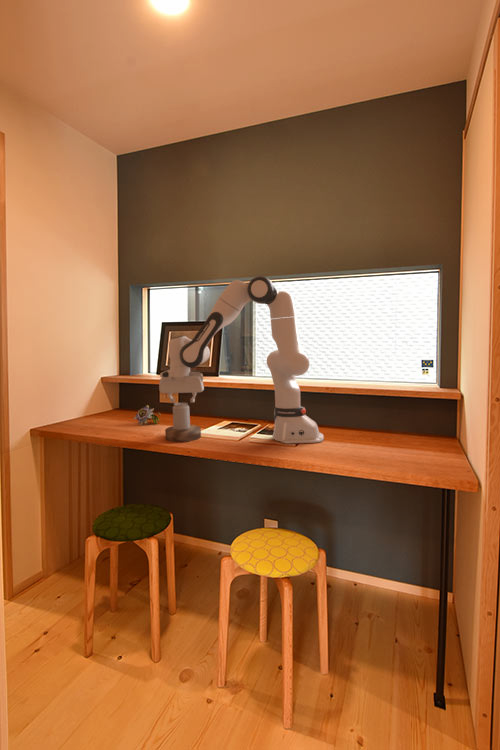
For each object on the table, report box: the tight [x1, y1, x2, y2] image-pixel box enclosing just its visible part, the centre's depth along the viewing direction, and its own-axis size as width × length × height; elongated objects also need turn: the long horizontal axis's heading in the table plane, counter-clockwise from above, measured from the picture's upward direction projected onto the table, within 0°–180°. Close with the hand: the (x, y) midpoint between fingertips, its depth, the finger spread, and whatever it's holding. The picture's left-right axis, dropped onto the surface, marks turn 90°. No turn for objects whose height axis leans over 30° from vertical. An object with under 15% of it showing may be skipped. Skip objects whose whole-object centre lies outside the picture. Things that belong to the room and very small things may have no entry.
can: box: [172, 402, 191, 431], centre depth 183 cm, size 8×8×12 cm
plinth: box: [164, 424, 202, 443], centre depth 185 cm, size 16×16×4 cm
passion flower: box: [133, 404, 161, 426], centre depth 216 cm, size 11×11×12 cm
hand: (182, 402), depth 184 cm, fingers open, 8 cm apart
